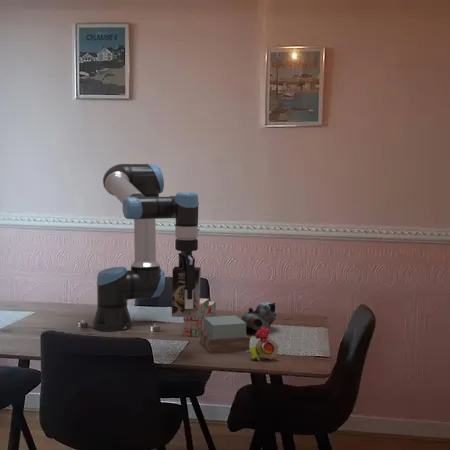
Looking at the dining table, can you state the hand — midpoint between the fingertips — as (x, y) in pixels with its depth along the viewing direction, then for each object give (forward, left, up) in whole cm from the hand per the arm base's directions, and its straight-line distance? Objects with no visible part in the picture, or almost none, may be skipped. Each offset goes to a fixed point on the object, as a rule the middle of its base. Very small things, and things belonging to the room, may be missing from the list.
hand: (186, 305), depth 205 cm
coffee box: (0, 0, -3) cm, 3 cm away
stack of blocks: (-31, +13, -17) cm, 38 cm away
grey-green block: (-6, +15, -12) cm, 21 cm away
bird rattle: (+11, +24, -17) cm, 32 cm away
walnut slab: (-6, +16, -17) cm, 24 cm away
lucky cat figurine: (-24, +34, -17) cm, 45 cm away
